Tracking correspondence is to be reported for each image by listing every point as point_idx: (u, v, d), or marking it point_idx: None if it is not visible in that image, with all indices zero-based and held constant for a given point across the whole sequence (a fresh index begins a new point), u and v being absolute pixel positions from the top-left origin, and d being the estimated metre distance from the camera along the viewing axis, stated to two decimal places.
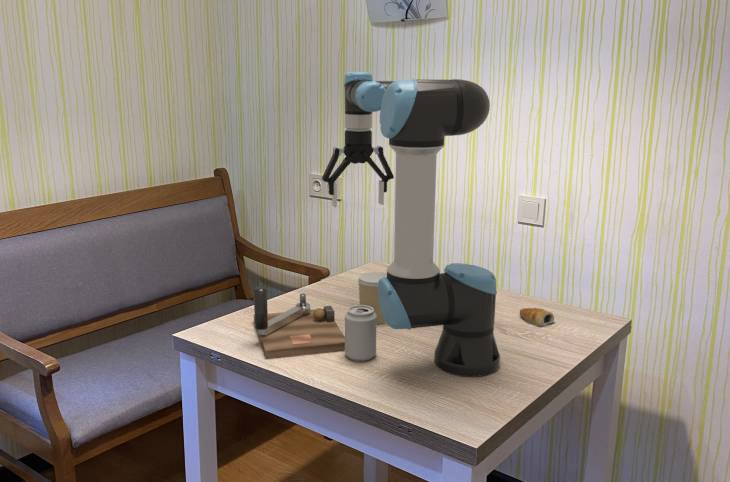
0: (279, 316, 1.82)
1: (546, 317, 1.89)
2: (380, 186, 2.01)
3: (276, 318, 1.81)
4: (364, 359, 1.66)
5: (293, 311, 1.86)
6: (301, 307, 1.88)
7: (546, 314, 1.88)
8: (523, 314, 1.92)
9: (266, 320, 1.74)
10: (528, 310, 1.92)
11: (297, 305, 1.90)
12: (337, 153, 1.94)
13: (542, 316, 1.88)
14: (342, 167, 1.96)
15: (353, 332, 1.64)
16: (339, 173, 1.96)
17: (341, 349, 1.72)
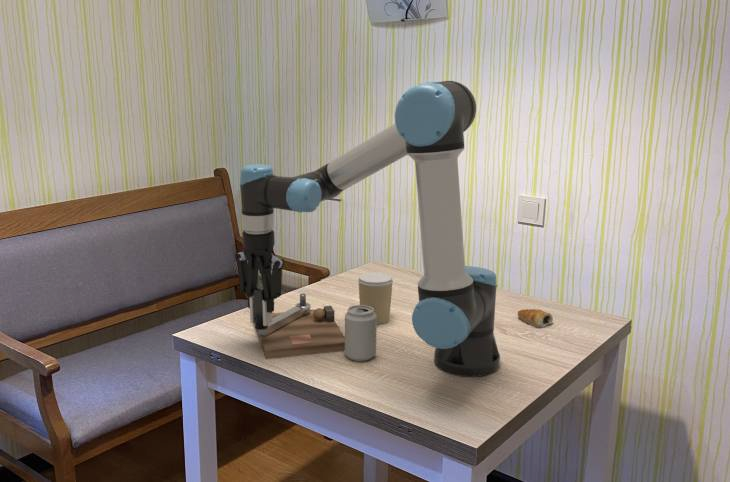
0: (279, 316, 1.82)
1: (545, 318, 1.88)
2: None
3: (276, 318, 1.81)
4: (364, 359, 1.66)
5: (293, 311, 1.86)
6: (301, 307, 1.88)
7: (545, 315, 1.88)
8: (521, 315, 1.91)
9: None
10: (526, 311, 1.91)
11: (297, 305, 1.90)
12: (238, 259, 1.72)
13: (541, 317, 1.87)
14: (249, 275, 1.72)
15: (353, 332, 1.64)
16: (249, 283, 1.72)
17: (341, 349, 1.72)
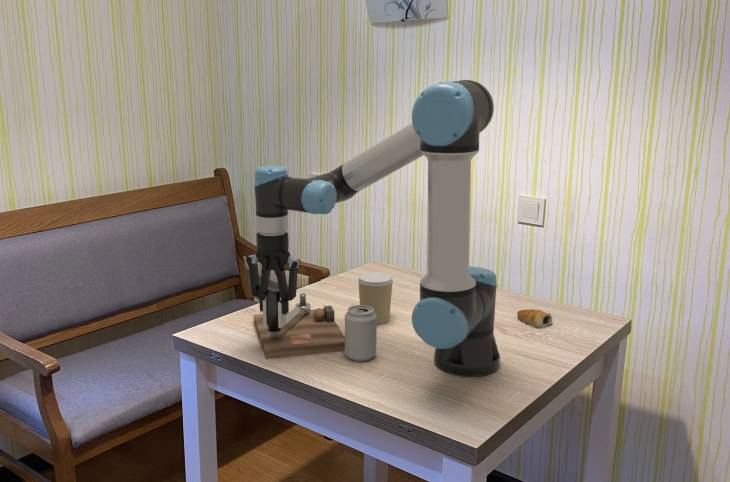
0: (286, 317, 1.81)
1: (545, 318, 1.88)
2: None
3: None
4: (364, 359, 1.66)
5: (297, 311, 1.86)
6: (303, 307, 1.88)
7: (545, 315, 1.87)
8: (521, 316, 1.91)
9: None
10: (526, 312, 1.91)
11: (297, 305, 1.90)
12: (249, 262, 1.70)
13: (541, 317, 1.87)
14: (262, 278, 1.70)
15: (353, 332, 1.64)
16: (263, 286, 1.70)
17: (341, 349, 1.72)
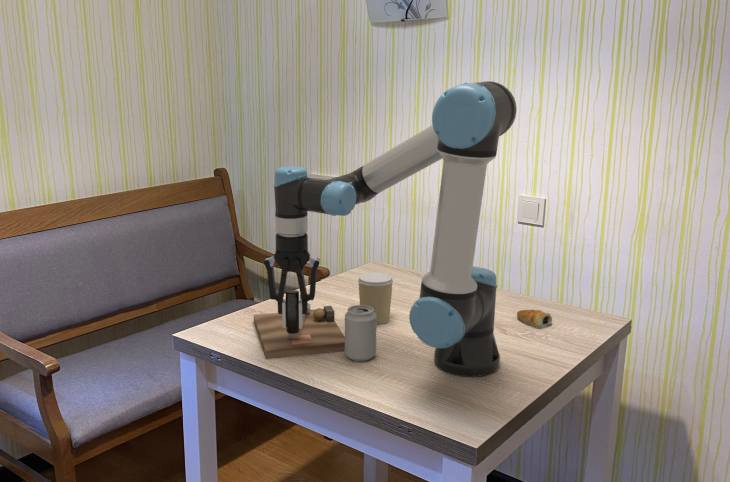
0: None
1: (545, 318, 1.87)
2: (299, 307, 1.71)
3: None
4: (364, 359, 1.66)
5: None
6: None
7: (545, 315, 1.87)
8: (521, 316, 1.91)
9: None
10: (526, 312, 1.91)
11: None
12: (268, 265, 1.67)
13: (541, 318, 1.87)
14: (281, 280, 1.68)
15: (353, 332, 1.64)
16: (282, 288, 1.69)
17: (341, 349, 1.72)
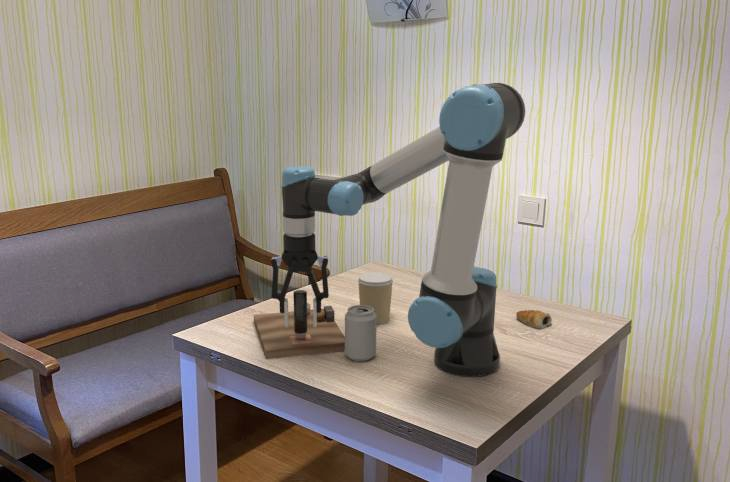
0: None
1: (544, 319, 1.87)
2: None
3: None
4: (364, 359, 1.66)
5: None
6: None
7: (544, 316, 1.87)
8: (520, 317, 1.90)
9: None
10: (525, 312, 1.90)
11: None
12: (275, 265, 1.67)
13: (541, 318, 1.86)
14: (286, 280, 1.68)
15: (353, 332, 1.64)
16: (286, 287, 1.68)
17: (341, 349, 1.72)
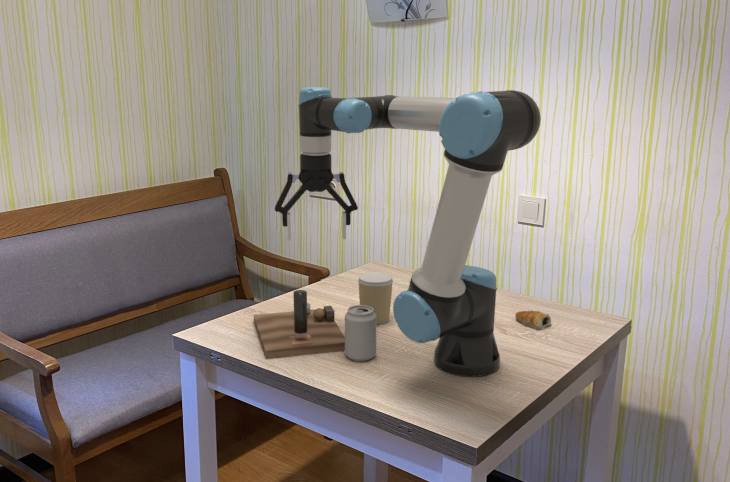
0: None
1: (544, 320, 1.87)
2: (342, 218, 1.75)
3: None
4: (364, 359, 1.66)
5: None
6: None
7: (544, 317, 1.86)
8: (520, 317, 1.90)
9: None
10: (525, 313, 1.90)
11: None
12: (290, 180, 1.71)
13: (540, 319, 1.86)
14: (296, 195, 1.72)
15: (353, 332, 1.64)
16: (293, 202, 1.72)
17: (341, 349, 1.72)
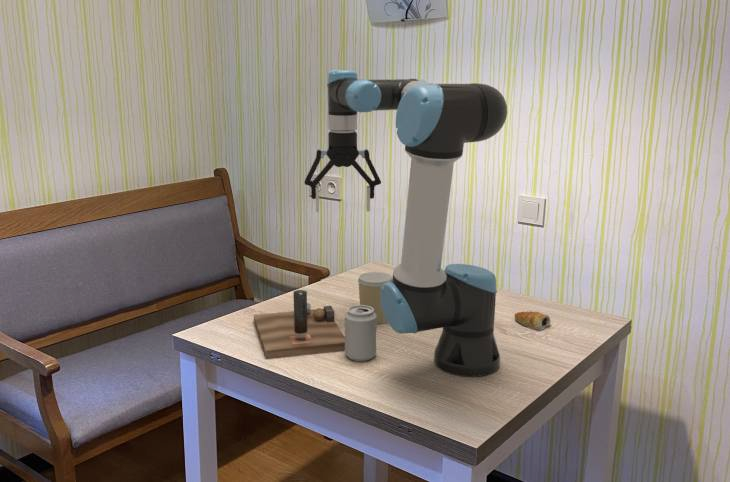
0: None
1: (544, 320, 1.86)
2: (367, 192, 1.89)
3: None
4: (364, 359, 1.66)
5: None
6: None
7: (544, 317, 1.86)
8: (519, 318, 1.89)
9: None
10: (524, 314, 1.89)
11: None
12: (319, 155, 1.85)
13: (540, 319, 1.85)
14: (324, 170, 1.86)
15: (353, 332, 1.64)
16: (321, 176, 1.87)
17: (341, 349, 1.72)
